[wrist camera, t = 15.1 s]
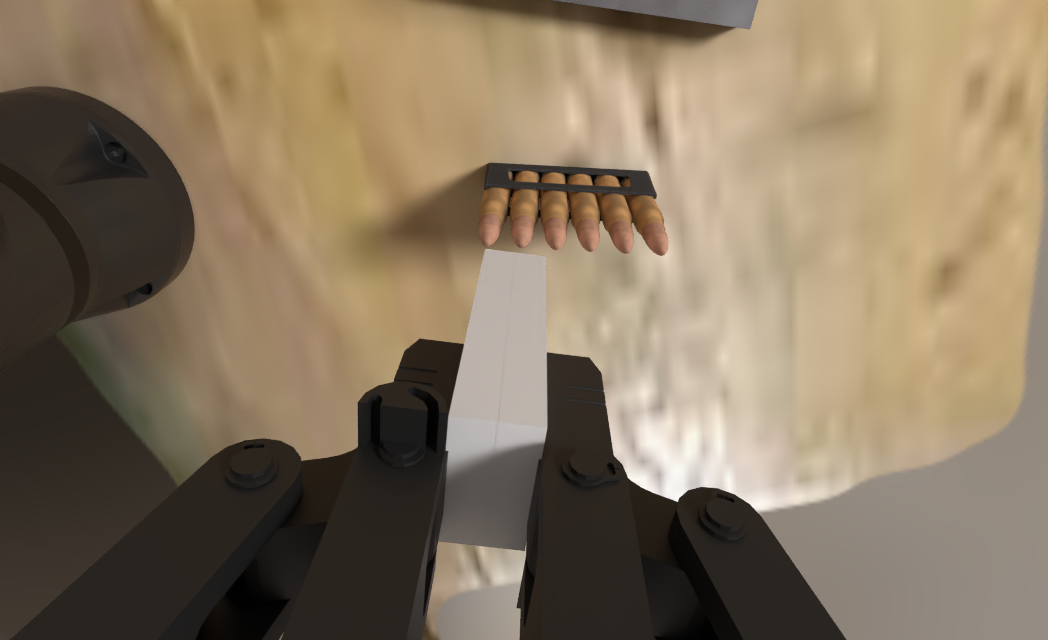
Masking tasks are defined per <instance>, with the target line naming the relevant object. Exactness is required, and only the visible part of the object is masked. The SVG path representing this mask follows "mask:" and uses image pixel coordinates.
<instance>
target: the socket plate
mask: <svg viewBox="0 0 1048 640" xmlns="http://www.w3.org/2000/svg"><path fill="white" fill-rule="evenodd" d="M554 1H561V2H568V3H575V4H581V5H588V6H595V7H602V8H608V9H615V10H622V11H629V12H635V13H642V14H649V15H656V16H663V17H669V18H676V19H683V20H690V21H696V22H703V23H710V24H717V25H723V26H730V27H737V28H744V29H750V27H751V24H752V20H753V17H754V13H755V10H756V6H757V3H758V0H554Z"/></svg>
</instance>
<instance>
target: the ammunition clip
mask: <svg viewBox="0 0 1048 640" xmlns="http://www.w3.org/2000/svg"><path fill="white" fill-rule="evenodd" d="M511 197H512V200H511V208H510V207H509V203H510V198H511ZM653 197H654V198H653ZM656 197H657V194H656V192H655V189H654V187H653V184H652V181H651V179H650V176H649V173H648V172H647V171H636V170H617V169H598V168H580V167H561V166H542V165H524V164H505V163H489V164H487V170H486V179H485V190H484V194H483V198H482V202H481V205H480V209H479V219H480V222H479V237H480V240H481V242H482V244H483V245H485V246H490V245H492V244H493V243H494V242H495V241H496V240H497V238H498V236H499V234H500V231H501V229H502V226H503V224H504V223H505V221H506V219H507V216H510V221H511V223H512V224H511V225H512V236H513V240H514V242H515V244H516V245H517V246H518V247H519V248H524V247H526V246H527V245H528V244H529V242H530V241H531V239H532V236H533V232H534V227H535V224H536V223H537V220H538V217H539V218H541V223H542V225H543V226H544V231H545V238H546V241H547V242H548V244H549V246H550V247H551V248H552V249H554V250H558V249H560V248H561V247H562V245H563V244H564V242H565V239H566V234H567V225H568V222H569V219H571V221H572V225H573V227H574V228H575V230H576V233H577V236H578V239H579V241H580V243H581V245H582V247H583V248H584V249H586V250H587V251H589V252H592V251H594V250H595V249H596V248H597V246H598V243H599V238H600V233H599V223H600V221H603V225H604V227H605V229H606V231H608V232H609V235H610V237H611V239H612V241H613V243H614V245H615V247H616V248H617V249H618V250H619V251H621V252H622V253H625V254H627V253H629V252H630V251H631V250H632V247H633V244H634V236H633V231H632V223H634V225H635V228H636V230H637V232H638V233H640V234H641V235H642V237H643V239H644V240H645V242H646V244H647V246H648V247H649V248H650V249H651V250H652V251H653V252H654V253H656V254H657V255H660V256H663V255H665V254H666V252H667V250H668V237H667V234H666V231H665V227H664V219H663V216H662V214H661V212H660V210H659V208H658V206H657V204H656V202H655V200H654V199H656ZM539 198H540V210H539ZM568 200H569V206H570V212H569V209H568ZM597 203H598V205H597ZM598 206H599V209H598ZM599 210H600V213H599Z"/></svg>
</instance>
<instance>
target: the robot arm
mask: <svg viewBox="0 0 1048 640" xmlns="http://www.w3.org/2000/svg"><path fill="white" fill-rule="evenodd" d="M193 242H194V217H193V211H192V206H191V203H190V199H189V196H188V193H187V191H186V188H185V186H184V184H183V182H182V180H181V177H180V176H179V174H178V172H177V170H176V169H175V167H174V165H173V164H172V162H171V161H170V159H169V158H168V157H167V155H166V154H165V153H164V152H163V150H162V149H161V148H160V147H159V145H158V144H157V143H156V142H155V141H154V140H153V139H152V138H151V137H150V136H149V135H148V134H147V133H146V132H145V131H144V130H143V129H142V128H140V127H139V126H138V125H137V124H136V123H134V122H133V121H132V120H130V119H129V118H128V117H126V116H125V115H123V114H122V113H121V112H119V111H117V110H116V109H114V108H112V107H111V106H109V105H107V104H105V103H103V102H101V101H99V100H97V99H95V98H92V97H90V96H87V95H84V94H81V93H78V92H75V91H71V90H67V89H62V88H55V87H27V88H21V89H16V90H11V91H6V92H1V93H0V374H2V373H3V372H4V371H6V370H7V369H8V368H10V367H11V366H12V365H14V364H15V363H16V362H18V361H19V360H20V359H22V358H23V357H25V356H26V355H27V354H29V353H30V352H31V351H32V350H34V349H35V348H36V347H38V346H39V345H41V344H42V343H43V342H45V341H46V340H47V339H49V338H50V337H51V336H53V335H54V334H55V333H57V332H58V331H59V330H61V329H62V328H64V327H65V326H66V325H68V324H69V323H71V322H75V321H79V320H83V319H87V318H91V317H95V316H99V315H102V314H106V313H110V312H114V311H118V310H122V309H126V308H130V307H133V306H135V305H138V304H140V303H142V302H144V301H146V300H148V299H150V298H151V297H153V296H154V295H156V294H157V293H158V292H160V291H161V290H162V289H163V288H165V287H166V286H167V285H168V284H170V283H171V282H172V281H173V280H174V279H175V278H176V277H177V276H178V275H179V274H180V273H181V271H182V270H183V269H184V267H185V265H186V264H187V261H188V259H189V257H190V254H191V251H192V247H193ZM603 390H604V388H603V382H602V375H601V372H600V371H599V369H598V368H597V367H596V366H595V364H594V363H593V362H592V361H591V359H590V358H588V357H580V356H571V355H563V354H555V353H547V332H546V256H538V255H531V254H523V253H515V252H507V251H499V250H491V249H485V252H484V257H483V261H482V266H481V271H480V275H479V280H478V284H477V289H476V293H475V298H474V302H473V307H472V311H471V316H470V320H469V325H468V330H467V334H466V339H465V343H464V344H459V343H451V342H443V341H434V340H426V339H419V340H418V341H416V342H415V343H414V344H413V345H411V346H410V347H409V348H408V349H406V350H405V352H404V354H403V357H402V360H401V362H400V365H399V369H398V370H397V373H396V375H395V378H394V382H392V383H387V384H383V385H379V386H377V387H375V388H373V389H371V390H370V391H368V392H366V393H365V394H364V395H363V397H362V398H361V399H360V400H359V402H358V447H357V448H356V449H354V450H353V451H350V452H347V453H345V454H342V455H338V456H333V457H329V458H321V459H313V460H305V461H301V457H300V456H299V454H298V453H297V452H296V450H295V449H294V447H292V446H290V445H288V444H286V443H284V442H282V441H278V440H271V439H254V440H245V441H242V442H239V443H237V444H234V445H231V446H228V447H226V448H225V449H223V450H222V451H220V452H219V453H217V454H216V455H214V456H213V457H211V458H210V459H209V460H208V461H207V462H206V463H205V464H204V465H202V466H201V467H200V468H199V469H198V470H197V471H196V472H195V473H194V474H193V475H191V476H190V477H189V478H188V479H187V480H186V481H185V482H184V483H183V484H182V485H180V486H179V487H178V488H177V489H176V490H175V491H174V492H173V493H172V494H170V495H169V496H168V497H167V498H166V499H165V500H164V501H163V502H162V503H161V504H160V505H159V506H157V507H156V508H155V509H154V510H153V511H152V512H151V513H150V514H148V515H147V516H146V517H145V518H144V519H143V520H142V521H141V522H140V523H138V525H136V526H135V527H134V528H133V529H132V530H131V531H130V532H129V533H128V534H126V535H125V536H124V537H123V538H122V539H121V540H120V541H119V542H118V543H116V544H115V545H114V546H113V547H112V548H111V549H110V550H109V551H108V552H106V554H104V555H103V556H102V557H101V558H100V559H99V560H98V561H97V562H96V563H94V564H93V565H92V566H91V567H90V568H89V569H88V570H87V571H86V572H84V573H83V574H82V575H81V576H80V577H79V578H78V579H77V580H76V581H75V582H73V583H72V584H71V585H70V586H69V587H68V588H67V589H66V590H65V591H63V592H62V593H61V594H60V595H59V596H58V597H57V598H56V599H55V600H54V601H53V602H51V603H50V604H49V605H48V606H47V607H46V608H45V609H44V610H42V612H40V613H39V614H38V615H37V616H36V617H35V618H34V619H33V620H31V622H29V623H28V624H27V625H26V626H25V627H24V628H23V629H21V630H20V631H19V632H18V633H17V634H16V635H15V636H14V637H13V638H12V639H10V640H279V638H280V637H281V635H282V634H283V632H284V634H283V636H282V639H281V640H422V638H423V633H424V627H425V622H426V616H427V611H428V605H429V600H430V594H431V589H432V583H433V578H434V572H435V563H436V551H437V544H438V541H440V542H449V543H458V544H467V545H477V546H486V547H495V548H504V549H513V550H522V551H525V546H526V560H525V565H524V571H523V576H522V581H521V587H520V592H519V598H518V603H517V608H520V609H521V619H520V640H846V638H845V637H844V636H843V634H842V633H841V631H840V630H839V628H838V627H837V625H836V624H835V623H834V621H833V620H832V618H831V617H830V615H829V614H828V612H827V611H826V610H825V608H824V607H823V605H822V604H821V602H820V601H819V599H818V598H817V597H816V595H815V594H814V592H813V591H812V589H811V588H810V586H809V585H808V584H807V582H806V581H805V579H804V578H803V576H802V575H801V573H800V572H799V570H798V569H797V568H796V566H795V565H794V563H793V562H792V560H791V559H790V557H789V556H788V555H787V553H786V552H785V550H784V549H783V547H782V546H781V544H780V543H779V542H778V540H777V539H776V537H775V536H774V534H773V533H772V532H771V530H770V529H769V527H768V526H767V524H766V523H765V521H764V520H763V519H762V517H761V516H760V515H759V514H758V513H757V512H756V511H755V509H754V508H753V507H752V506H751V505H750V504H748V503H747V502H745V501H744V500H742V499H741V498H739V497H738V496H736V495H734V494H732V493H729V492H726V491H723V490H720V489H718V488H706V487H700V488H696V489H692V490H688V491H687V492H686V493H685V494H684V495H682V496H681V497H680V498H679V501H678V502H676V501H674V500H671V499H668V498H665V497H663V496H660V495H657V494H654V493H652V492H650V491H648V490H645V489H643V488H641V487H640V486H638V485H637V484H635V483H634V482H632V481H631V480H630V479H628V478H627V474H626V472H625V470H624V467H623V465H622V464H621V463H620V462H619V461H618V460H617V459H616V458H615V457H614V455H613V449H612V442H611V435H610V429H609V422H608V415H607V408H606V406H605V403H606V402H605V395H604V392H603ZM526 541H527V544H526Z"/></svg>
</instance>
